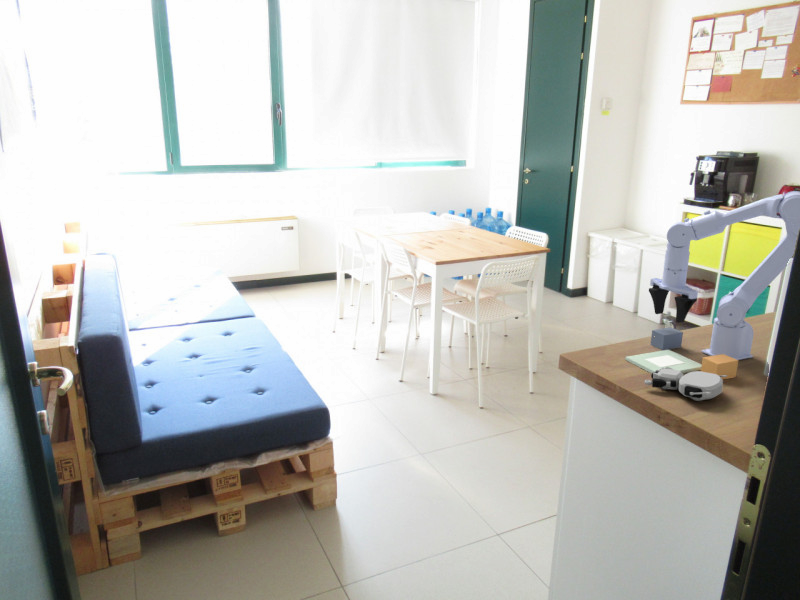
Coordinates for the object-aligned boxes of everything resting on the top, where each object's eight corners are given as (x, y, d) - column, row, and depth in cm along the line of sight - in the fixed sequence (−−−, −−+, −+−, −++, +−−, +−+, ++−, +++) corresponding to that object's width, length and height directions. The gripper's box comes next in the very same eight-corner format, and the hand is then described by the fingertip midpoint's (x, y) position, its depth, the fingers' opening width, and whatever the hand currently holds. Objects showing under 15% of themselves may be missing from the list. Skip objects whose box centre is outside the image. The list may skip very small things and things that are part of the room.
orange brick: (720, 370, 146) (723, 353, 145) (735, 377, 142) (738, 360, 141) (700, 374, 144) (702, 357, 143) (715, 381, 140) (717, 364, 139)
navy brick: (668, 342, 165) (670, 327, 164) (681, 347, 161) (683, 332, 160) (650, 345, 163) (652, 330, 162) (662, 350, 159) (664, 335, 158)
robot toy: (640, 394, 136) (711, 410, 126) (641, 376, 135) (713, 390, 124) (660, 378, 144) (728, 391, 134) (661, 360, 143) (730, 373, 133)
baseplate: (668, 352, 158) (668, 349, 157) (704, 369, 147) (705, 365, 147) (625, 359, 153) (625, 356, 153) (659, 377, 142) (660, 374, 142)
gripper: (643, 263, 161) (638, 311, 165) (685, 276, 148) (678, 327, 152) (664, 261, 164) (658, 308, 167) (706, 273, 150) (699, 324, 154)
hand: (669, 317), depth 160 cm, fingers open, 7 cm apart
